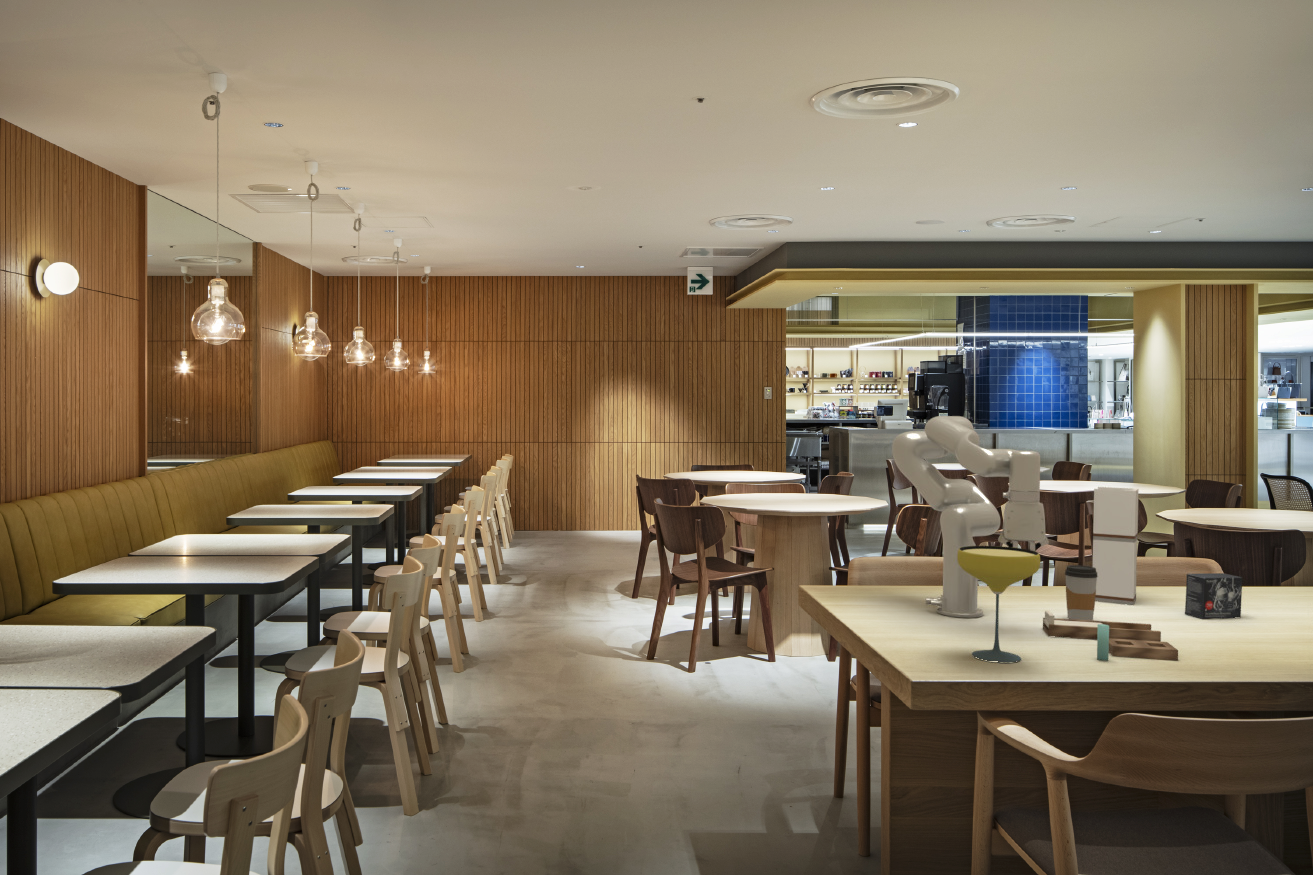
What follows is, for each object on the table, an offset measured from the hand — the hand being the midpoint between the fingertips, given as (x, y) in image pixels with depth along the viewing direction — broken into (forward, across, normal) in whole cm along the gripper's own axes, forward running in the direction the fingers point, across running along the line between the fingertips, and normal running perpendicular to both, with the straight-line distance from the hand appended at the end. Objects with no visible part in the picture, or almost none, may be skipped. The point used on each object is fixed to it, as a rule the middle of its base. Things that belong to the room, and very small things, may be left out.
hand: (1022, 566), depth 234 cm
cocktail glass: (+17, -10, -30) cm, 36 cm away
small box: (+17, +57, +36) cm, 70 cm away
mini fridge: (+17, +35, +53) cm, 66 cm away
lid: (+15, +13, 0) cm, 20 cm away
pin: (+17, +14, -25) cm, 33 cm away
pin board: (+17, +24, -17) cm, 34 cm away
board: (+17, +19, 0) cm, 26 cm away
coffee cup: (+17, +18, +18) cm, 31 cm away
